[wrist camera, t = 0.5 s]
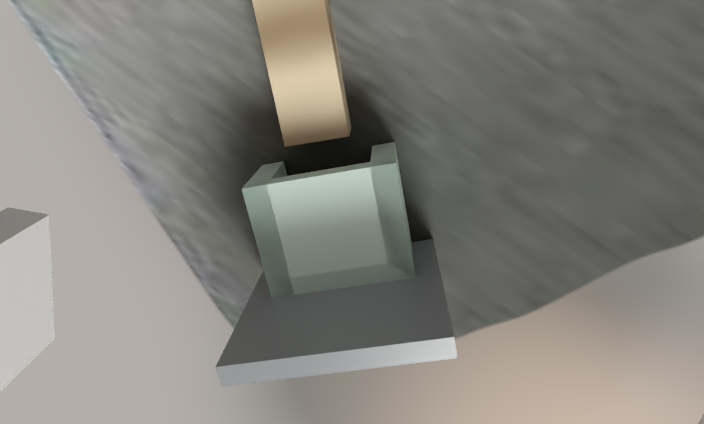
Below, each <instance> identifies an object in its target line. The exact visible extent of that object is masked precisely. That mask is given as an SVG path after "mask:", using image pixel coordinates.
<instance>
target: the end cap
mask: <svg viewBox="0 0 704 424" xmlns="http://www.w3.org/2000/svg"><path fill="white" fill-rule="evenodd" d="M242 193H243V196H244V200H245V204H246V207H247V211H248V215H249V218H250V222H251V226H252V229H253V233H254V237H255V240H256V244H257V248H258V251H259V255H260V259H261V262H262V266H263V270H264V271H263V273H262V275H261V277H260V279H259V281H258V283H257V285H256V287H255V289H254V291H253V293H252V295H251V297H250V299H249V301H248V303H247V305H246V307H245V309H244V311H243V313H242V315H241V317H240V319H239V321H238V323H237V325H236V327H235V329H234V331H233V333H232V335H231V337H230V339H229V342H228V343H227V345H226V347H225V349H224V351H223V353H222V355H221V357H220V359H219V361H218V363H217V365H216V370H217V373H218V376H219V379H220V382H221V385H222V386H230V385H239V384H247V383H255V382H263V381H271V380H280V379H288V378H296V377H305V376H312V375H321V374H329V373H338V372H346V371H354V370H361V369H370V368H379V367H386V366H395V365H403V364H412V363H420V362H428V361H436V360H445V359H452V358H457V352H456V345H455V339H454V333H453V329H452V324H451V320H450V315H449V310H448V306H447V301H446V297H445V292H444V287H443V283H442V278H441V274H440V269H439V264H438V260H437V255H436V251H435V246H434V241H433V239H429V240H422V241H415V242H411V236H410V230H409V224H408V218H407V212H406V206H405V200H404V194H403V188H402V182H401V176H400V170H399V164H398V158H397V152H396V146H395V142H391V143H385V144H380V145H374V146H372V152H371V161H370V162H366V163H361V164H355V165H349V166H343V167H337V168H331V169H325V170H319V171H314V172H308V173H302V174H296V175H290V176H287V172H286V168H285V164H284V161H282V162H276V163H271V164H265V165H262V166H261V167H260V168H259V169H258V171H257V172H256V173H255V174H254V175H253V176H252V177H251V179H250V180H249V181H248V182H247V183H246V184H245V185H244V187H243V188H242Z"/></svg>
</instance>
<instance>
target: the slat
mask: <svg viewBox="0 0 704 424" xmlns="http://www.w3.org/2000/svg"><path fill="white" fill-rule="evenodd" d="M252 3H253V7H254V11H255V16H256V20H257V25H258V29H259V34H260V38H261V43H262V47H263V52H264V56H265V61H266V65H267V70H268V74H269V79H270V83H271V88H272V92H273V96H274V101H275V105H276V110H277V114H278V119H279V123H280V128H281V132H282V137H283V141H284V146H285V147H287V146H293V145H299V144H306V143H312V142H318V141H324V140H330V139H336V138H342V137H349V135H350V132H351V129H352V126H351V121H350V115H349V109H348V104H347V98H346V92H345V87H344V81H343V76H342V70H341V64H340V59H339V53H338V47H337V42H336V36H335V31H334V25H333V19H332V14H331V8H330V3H329V0H252Z"/></svg>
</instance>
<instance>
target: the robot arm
mask: <svg viewBox="0 0 704 424" xmlns="http://www.w3.org/2000/svg"><path fill="white" fill-rule="evenodd" d="M49 225H50V224H49V215H46V214H41V213H36V212H30V211H25V210H19V209H14V208H6V209H5V210H2V211H1V212H0V392H1V391H2V389H4V388H5V387H6V386H7V385H8V384H9V383H10V382H11V381H12V379H14V378H15V377H16V376H17V375H18V374H19V373H20V372H21V371H22V370H23V369H24V368H25V367H26V366H27V365H28V364H29V363H30V362H31V361H32V360H33V359H34V358H35V357H36V356H37V355H38V354H39V353H40V352H41V351H42V350H43V349H44V348H45V347H46V346H47V345H48V344H49V343H51V341H52V340H53V339H55V333H54V313H53V312H54V311H53V290H52V268H51V246H50V226H49ZM699 424H704V415H703V416H702V418H701V420H700V422H699Z"/></svg>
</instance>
